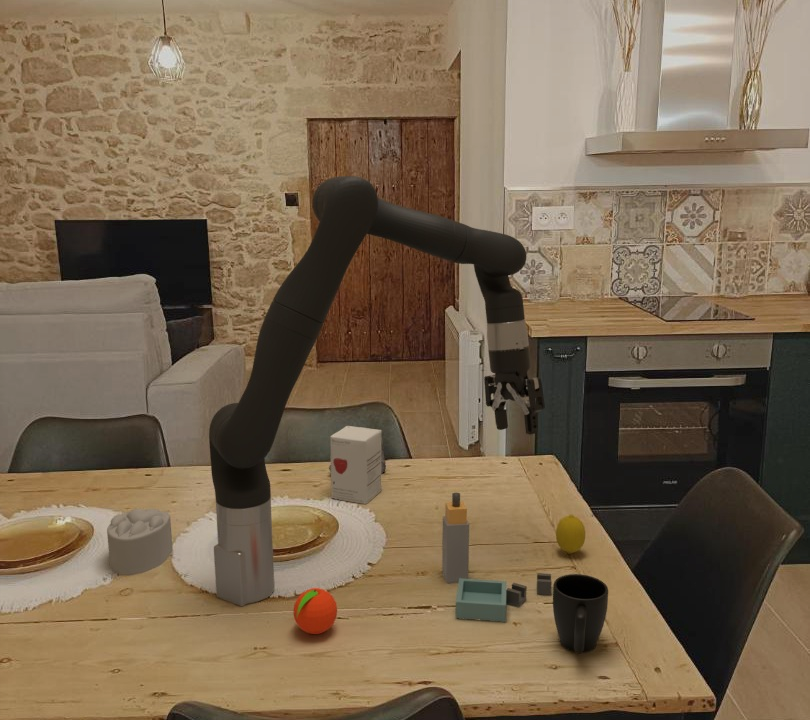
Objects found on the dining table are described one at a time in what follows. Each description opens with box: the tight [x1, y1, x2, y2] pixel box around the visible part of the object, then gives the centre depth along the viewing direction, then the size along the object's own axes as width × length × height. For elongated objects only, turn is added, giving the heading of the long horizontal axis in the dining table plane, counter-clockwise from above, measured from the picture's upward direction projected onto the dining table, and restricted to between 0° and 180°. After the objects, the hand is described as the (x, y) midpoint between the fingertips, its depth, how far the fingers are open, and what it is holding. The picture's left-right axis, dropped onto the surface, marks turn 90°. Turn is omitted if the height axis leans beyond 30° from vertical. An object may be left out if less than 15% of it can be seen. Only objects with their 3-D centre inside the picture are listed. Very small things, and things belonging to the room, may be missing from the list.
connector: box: [441, 492, 470, 584], centre depth 144 cm, size 4×4×16 cm
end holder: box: [455, 578, 508, 623], centre depth 135 cm, size 8×8×3 cm
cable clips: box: [506, 572, 552, 608], centre depth 138 cm, size 9×5×2 cm, turn 147°
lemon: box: [555, 514, 586, 555], centre depth 154 cm, size 6×6×8 cm
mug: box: [552, 573, 609, 654], centre depth 122 cm, size 8×12×10 cm
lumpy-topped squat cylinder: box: [106, 508, 174, 576], centre depth 152 cm, size 10×13×9 cm
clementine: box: [293, 587, 338, 635], centre depth 127 cm, size 8×7×7 cm
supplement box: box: [330, 425, 383, 505], centre depth 182 cm, size 9×9×15 cm
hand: (516, 431), depth 151 cm, fingers open, 8 cm apart
